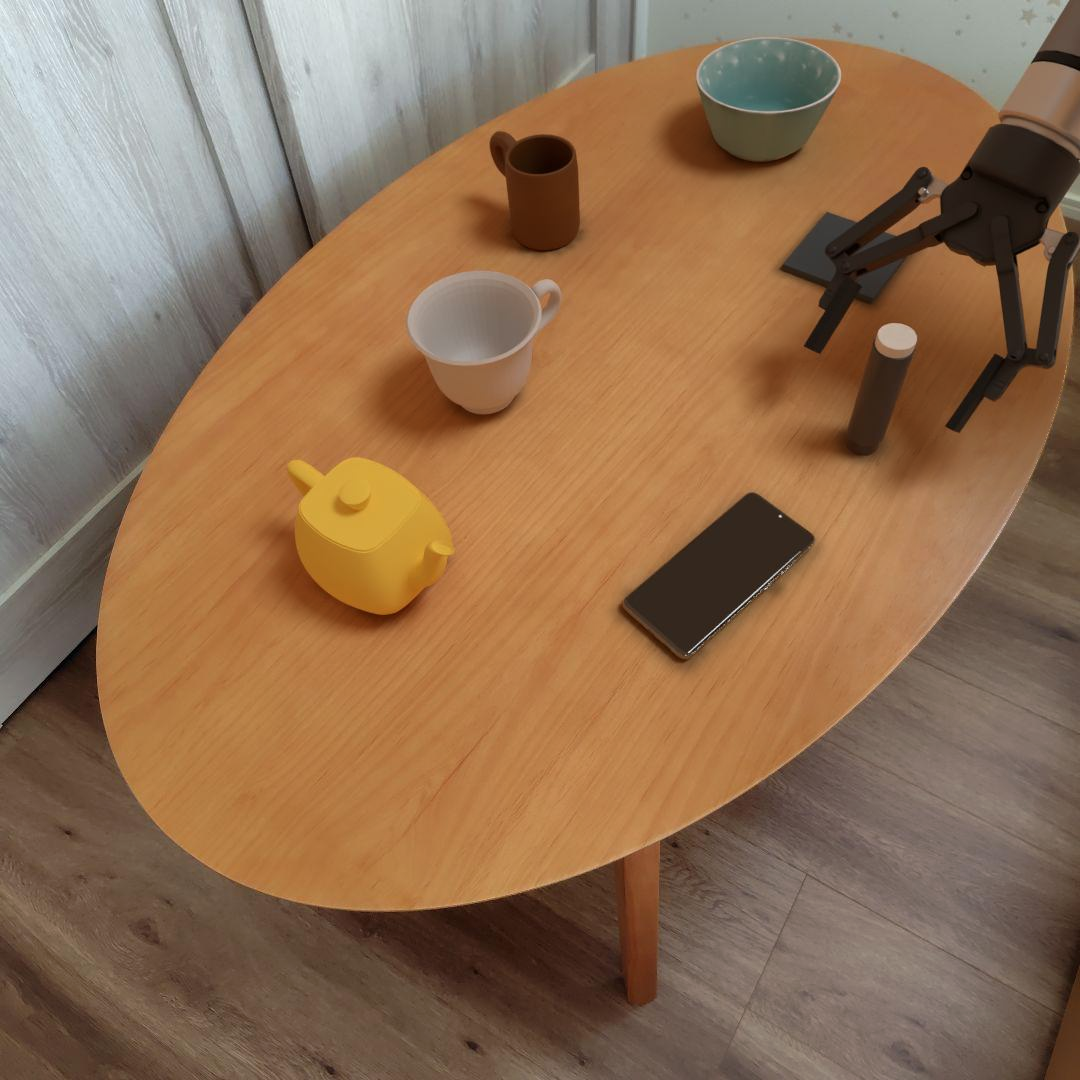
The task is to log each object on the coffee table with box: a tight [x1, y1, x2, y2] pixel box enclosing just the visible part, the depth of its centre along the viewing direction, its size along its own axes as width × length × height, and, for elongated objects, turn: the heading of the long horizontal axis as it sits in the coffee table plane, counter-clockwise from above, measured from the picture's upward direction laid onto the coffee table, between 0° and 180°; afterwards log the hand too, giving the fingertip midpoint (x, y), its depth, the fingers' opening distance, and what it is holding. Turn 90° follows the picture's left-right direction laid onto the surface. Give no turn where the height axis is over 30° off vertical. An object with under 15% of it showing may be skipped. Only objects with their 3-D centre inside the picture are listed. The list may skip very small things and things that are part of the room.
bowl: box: [695, 36, 842, 163], centre depth 108 cm, size 16×16×8 cm
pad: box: [781, 211, 909, 305], centre depth 98 cm, size 10×10×1 cm
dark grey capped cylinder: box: [845, 322, 918, 456], centre depth 79 cm, size 3×3×13 cm
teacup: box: [405, 270, 563, 415], centre depth 87 cm, size 12×15×10 cm
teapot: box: [286, 456, 456, 616], centre depth 76 cm, size 18×11×11 cm, turn 53°
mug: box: [489, 130, 581, 251], centre depth 101 cm, size 12×8×9 cm, turn 41°
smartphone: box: [622, 491, 816, 660], centre depth 77 cm, size 7×1×16 cm
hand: (879, 389), depth 79 cm, fingers open, 13 cm apart
